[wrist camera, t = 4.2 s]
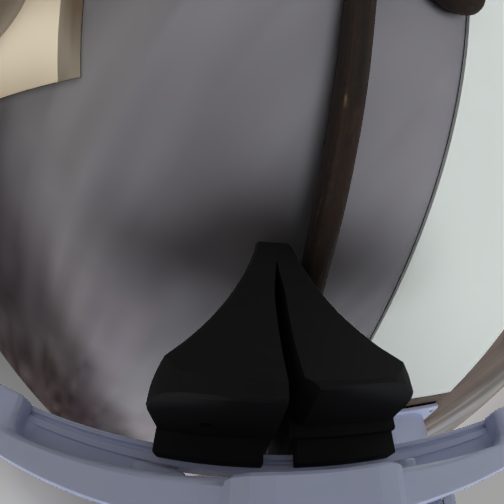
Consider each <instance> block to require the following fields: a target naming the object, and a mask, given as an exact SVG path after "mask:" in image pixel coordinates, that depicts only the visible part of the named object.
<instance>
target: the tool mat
mask: <svg viewBox="0 0 504 504" xmlns="http://www.w3.org/2000/svg"><path fill="white" fill-rule="evenodd" d="M503 330H504V0H485V4H484V7H483V8H482V9H481V10H480V11H479V12H478V13H476V14H475V15H467V24H466V38H465V49H464V58H463V66H462V73H461V80H460V86H459V92H458V98H457V103H456V108H455V113H454V118H453V122H452V127H451V131H450V135H449V140H448V144H447V147H446V151H445V155H444V159H443V162H442V166H441V169H440V173H439V176H438V179H437V183H436V186H435V189H434V192H433V195H432V198H431V201H430V204H429V207H428V210H427V213H426V216H425V218H424V221H423V224H422V227H421V229H420V232H419V235H418V237H417V240H416V242H415V245H414V247H413V250H412V252H411V255H410V257H409V259H408V262H407V264H406V267H405V269H404V271H403V273H402V276H401V278H400V280H399V282H398V285H397V287H396V289H395V291H394V293H393V295H392V297H391V299H390V302H389V304H388V306H387V308H386V310H385V312H384V314H383V316H382V318H381V320H380V322H379V324H378V325H377V327H376V329H375V331H374V333H373V335H372V337H371V339H370V340H371V341H372V342H373V343H375V344H376V345H377V346H379V347H380V348H382V349H383V350H385V351H386V352H388V353H390V354H391V355H393V356H394V357H396V358H398V359H399V360H401V361H402V362H404V365H405V367H406V370H407V372H408V374H409V378H410V381H411V385H412V388H413V395H412V398H418V397H424V396H430V395H435V394H441V393H446V392H450V391H451V390H452V389H453V388H454V387H455V386H456V385H457V384H458V383H459V382H460V381H461V380H462V379H463V378H464V377H465V376H466V374H467V373H468V372H469V371H470V370H471V369H472V368H473V367H474V366H475V364H476V363H477V362H478V361H479V360H480V359H481V357H482V356H483V355H484V354H485V353H486V351H487V350H488V349H489V348H490V346H491V345H492V344H493V343H494V341H495V340H496V339H497V338H498V336H499V335H500V334H501V332H502V331H503Z"/></svg>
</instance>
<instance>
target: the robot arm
mask: <svg viewBox="0 0 504 504" xmlns="http://www.w3.org/2000/svg"><path fill="white" fill-rule="evenodd" d="M412 395H413V388H412V385H411V381H410V378H409V374H408V372H407V370H406V367H405V365H404V362H402V361H401V360H399V359H398V358H396V357H394V356H393V355H391V354H390V353H388V352H386V351H385V350H383V349H382V348H380V347H379V346H377V345H376V344H375V343H373V342H372V341H371V340H369V339H368V338H367V337H365V336H364V335H363V334H361V333H360V332H359V331H358V330H357V329H355V328H354V327H353V326H352V325H351V324H350V323H349V322H348V321H346V320H345V319H344V318H343V317H342V316H341V315H340V314H339V313H338V312H337V311H336V310H335V309H334V308H333V307H332V305H331V304H330V303H329V302H328V301H327V300H326V299H325V297H324V296H323V295H322V294H321V292H320V291H319V290H318V289H317V287H316V286H315V284H314V283H313V282H312V280H311V279H310V277H309V276H308V274H307V273H306V272H305V270H304V268H303V267H302V265H301V264H300V262H299V260H298V259H297V257H296V255H295V254H294V252H293V250H292V248H291V246H290V245H289V244H283V243H270V242H258V243H256V245H255V251H254V254H253V256H252V259H251V261H250V263H249V265H248V267H247V269H246V271H245V273H244V275H243V277H242V278H241V280H240V281H239V283H238V284H237V286H236V288H235V289H234V291H233V292H232V293H231V295H230V296H229V297H228V299H227V300H226V301H225V302H224V304H223V305H222V306H221V307H220V308H219V309H218V311H217V312H216V313H215V314H214V315H213V316H212V317H211V318H210V319H209V320H208V321H207V322H206V323H205V324H204V325H203V326H202V327H201V328H200V329H198V330H197V331H196V332H195V333H194V334H193V335H192V336H191V337H189V338H188V339H187V340H186V341H184V342H183V343H182V344H180V345H179V346H177V347H176V348H175V349H173V350H172V351H170V352H169V353H168V354H166V355H165V356H164V358H163V360H162V361H161V363H160V365H159V367H158V369H157V371H156V373H155V375H154V378H153V380H152V383H151V385H150V389H149V393H148V397H147V402H146V406H147V410H148V412H149V414H150V415H151V417H152V419H153V421H154V423H155V425H156V426H157V428H156V433H155V438H154V443H152V442H147V441H142V440H137V439H133V438H129V437H124V436H120V435H116V434H113V433H109V432H105V431H102V430H98V429H95V428H91V427H88V426H85V425H82V424H79V423H76V422H73V421H70V420H67V419H64V418H61V417H58V416H56V415H53V414H51V413H48V412H45V411H43V410H40V409H38V408H35V407H33V406H32V405H31V403H30V402H29V401H28V400H27V399H26V398H25V397H24V396H22V395H21V394H19V393H18V392H16V391H13V390H11V389H9V388H7V387H5V386H3V385H0V457H1V458H2V459H4V460H5V461H7V462H9V463H10V464H12V465H14V466H16V467H17V468H19V469H21V470H23V471H25V472H27V473H28V474H31V475H32V476H34V477H36V478H38V479H40V480H43V481H45V482H47V483H49V484H51V485H53V486H55V487H57V488H60V489H62V490H64V491H67V492H69V493H71V494H74V495H77V496H79V497H82V498H84V499H87V500H90V501H92V502H95V503H98V504H442V502H443V504H456V501H455V497H454V493H456V492H458V491H461V490H463V489H465V488H468V487H470V486H472V485H474V484H476V483H478V482H480V481H482V480H484V479H486V478H488V477H490V476H492V475H494V474H496V473H497V472H499V471H501V470H503V469H504V407H502V408H499V409H497V410H496V411H494V412H493V413H491V414H490V415H489V416H488V417H487V418H485V420H483V421H481V422H478V423H475V424H472V425H469V426H466V427H463V428H459V429H457V430H453V431H449V432H446V433H442V434H438V435H435V436H431V437H428V436H427V432H426V428H425V424H424V419H426V418H427V417H428V416H429V415H430V414H431V413H432V412H433V411H435V410H436V409H437V408H438V403H433V404H428V405H423V406H417V407H411V408H405V409H403V408H404V407H405V406H406V405H407V403H408V402H409V401H410V399H411V398H412ZM267 449H268V455H265V454H266V451H267ZM183 472H185V473H192V474H199V475H208V476H218V477H230V478H217V477H197V476H185V474H184V473H183ZM441 498H443V500H441Z"/></svg>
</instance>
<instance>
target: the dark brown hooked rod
mask: <svg viewBox="0 0 504 504" xmlns="http://www.w3.org/2000/svg"><path fill="white" fill-rule="evenodd" d="M435 1H436V2H437V3H438V4H439V5H440V6H442V7H443V8H444V9H446V10H448V11H450V12H453V13H455V14H460V15H475V14H476V13H478V12H479V11H480V10H481V9H482V8H483V7H484V4H485V0H435ZM376 2H377V0H345V1H344V7H343V18H342V26H341V35H340V44H339V52H338V60H337V68H336V76H335V83H334V91H333V97H332V104H331V111H330V118H329V123H328V129H327V134H326V139H325V142H324V153H323V158H322V163H321V168H320V174H319V179H318V184H317V189H316V194H315V199H314V204H313V209H312V214H311V219H310V224H309V229H308V234H307V238H306V243H305V248H304V253H303V257H302V262H301V265H302V267H303V268H304V270H305V272H306V273H307V274H308V276H309V277H310V279H311V280H312V282H313V283H314V284H315V286H316V287H317V289H318V290H319V291H320V292H321V294H323V290H324V287H325V283H326V279H327V275H328V272H329V268H330V265H331V261H332V257H333V254H334V250H335V246H336V242H337V238H338V234H339V231H340V227H341V223H342V219H343V215H344V211H345V206H346V202H347V197H348V193H349V188H350V184H351V179H352V174H353V169H354V164H355V159H356V154H357V148H358V143H359V138H360V132H361V126H362V120H363V114H364V108H365V101H366V94H367V87H368V80H369V72H370V64H371V54H372V45H373V35H374V24H375V13H376ZM265 455H268V449H267V451H266V454H265Z"/></svg>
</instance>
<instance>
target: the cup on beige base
mask: <svg viewBox="0 0 504 504" xmlns="http://www.w3.org/2000/svg"><path fill="white" fill-rule="evenodd" d="M83 1H84V0H0V98H2V97H5V96H8V95H11V94H15V93H18V92H21V91H24V90H28V89H31V88H35V87H39V86H43V85H47V84H51V83H55V82H59V81H64V80H68V79H73V78H78V77H80V49H81V25H82V11H83Z"/></svg>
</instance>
